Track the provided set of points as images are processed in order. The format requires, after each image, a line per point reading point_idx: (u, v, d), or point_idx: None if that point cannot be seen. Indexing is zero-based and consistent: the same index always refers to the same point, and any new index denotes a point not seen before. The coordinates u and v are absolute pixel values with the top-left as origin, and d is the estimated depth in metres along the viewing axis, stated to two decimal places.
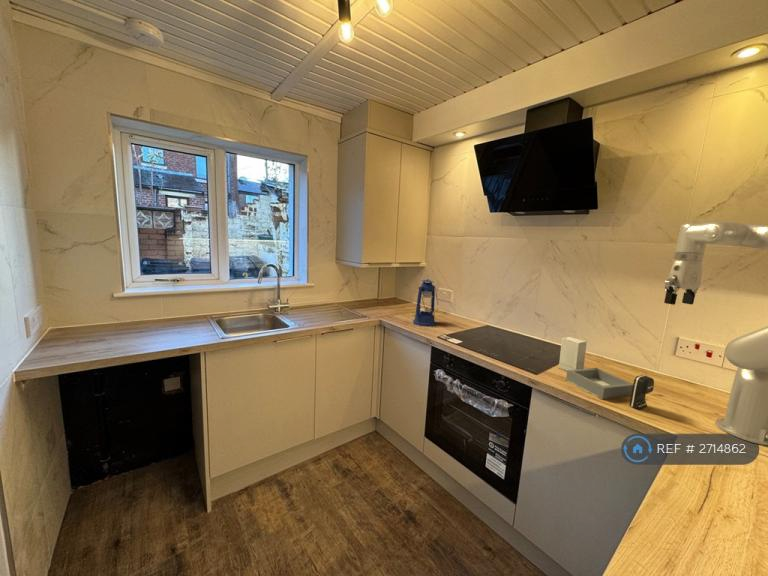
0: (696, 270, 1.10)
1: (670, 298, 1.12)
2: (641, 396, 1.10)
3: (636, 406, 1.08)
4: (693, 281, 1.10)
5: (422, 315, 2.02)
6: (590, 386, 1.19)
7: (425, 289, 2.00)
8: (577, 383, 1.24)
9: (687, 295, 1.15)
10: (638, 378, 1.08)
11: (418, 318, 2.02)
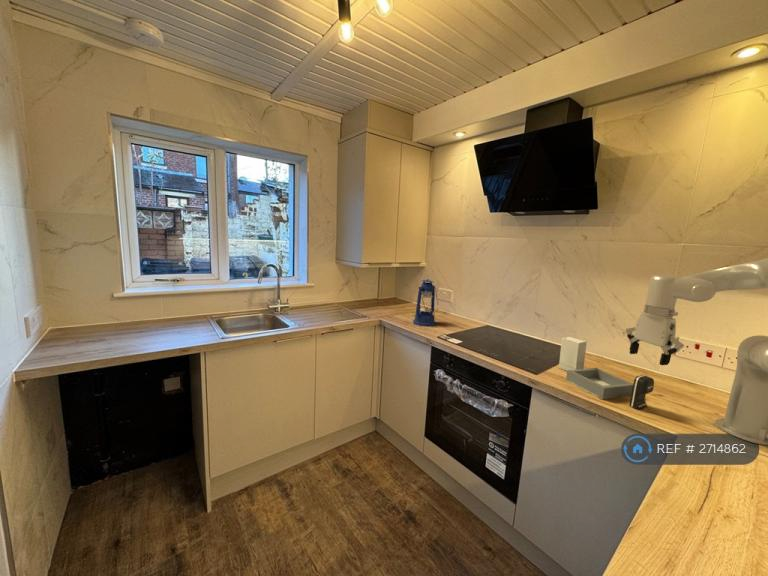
0: None
1: (669, 359, 1.02)
2: (641, 396, 1.10)
3: (636, 406, 1.08)
4: None
5: (422, 315, 2.02)
6: (590, 386, 1.19)
7: (425, 289, 2.00)
8: (577, 383, 1.24)
9: (635, 346, 1.11)
10: (638, 378, 1.08)
11: (418, 318, 2.02)
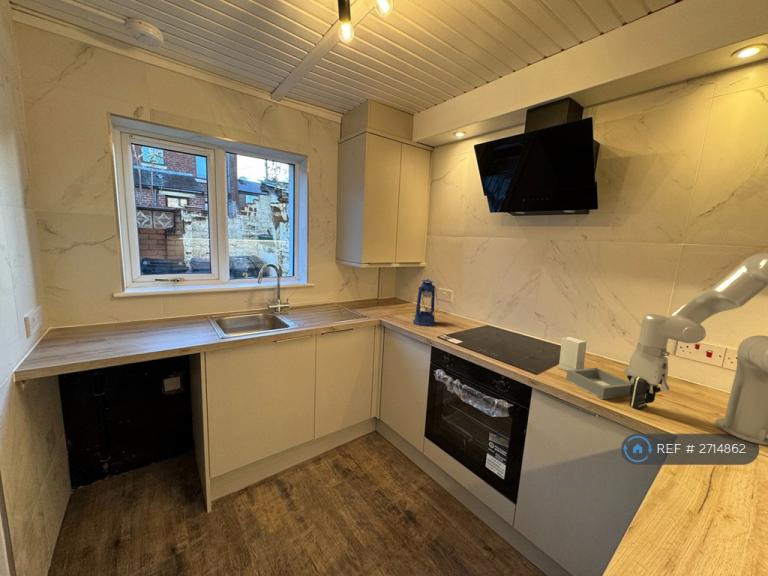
0: None
1: (654, 398, 1.06)
2: (641, 396, 1.10)
3: (636, 406, 1.08)
4: None
5: (422, 315, 2.02)
6: (590, 386, 1.19)
7: (425, 289, 2.00)
8: (577, 383, 1.24)
9: None
10: (638, 378, 1.08)
11: (418, 318, 2.02)
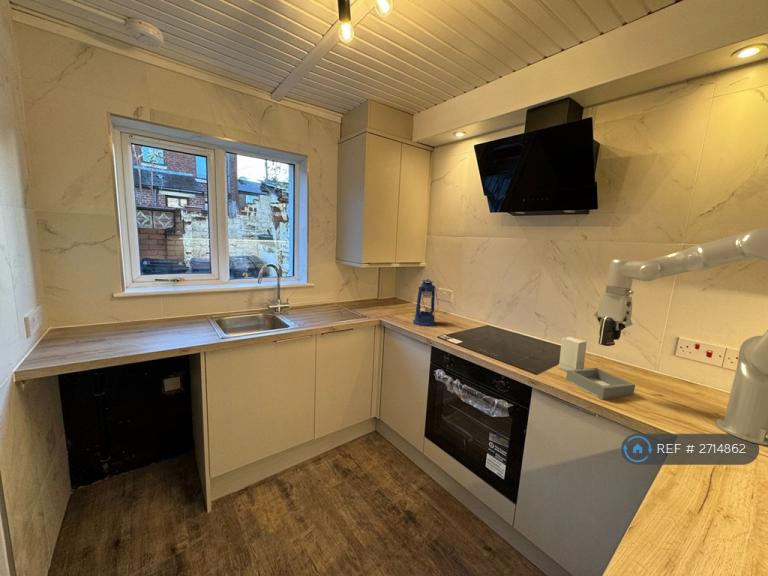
0: None
1: (619, 334, 1.16)
2: (609, 335, 1.20)
3: (604, 343, 1.19)
4: None
5: (422, 315, 2.02)
6: (590, 386, 1.19)
7: (425, 289, 2.00)
8: (577, 383, 1.24)
9: None
10: (606, 317, 1.18)
11: (418, 318, 2.02)
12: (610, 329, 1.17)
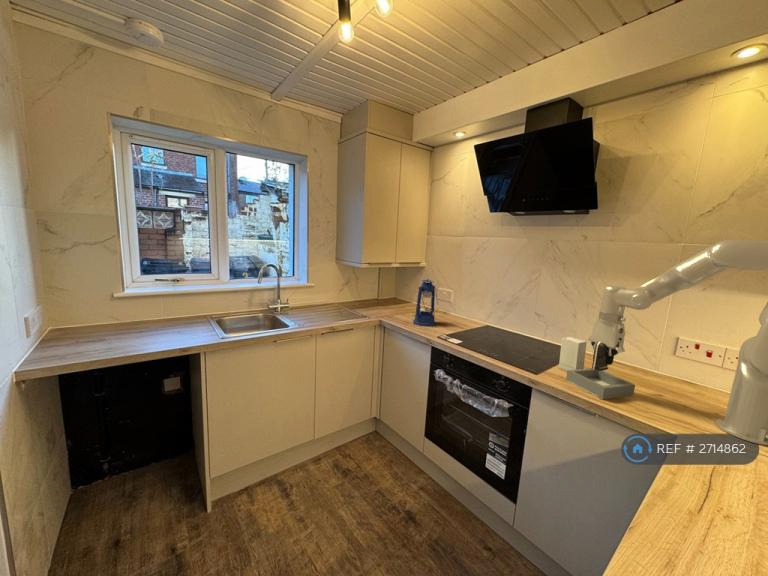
0: None
1: (612, 360, 1.19)
2: (602, 359, 1.22)
3: (597, 368, 1.21)
4: None
5: (422, 315, 2.02)
6: (590, 386, 1.19)
7: (425, 289, 2.00)
8: (577, 383, 1.24)
9: None
10: (599, 343, 1.21)
11: (418, 318, 2.02)
12: (603, 354, 1.19)
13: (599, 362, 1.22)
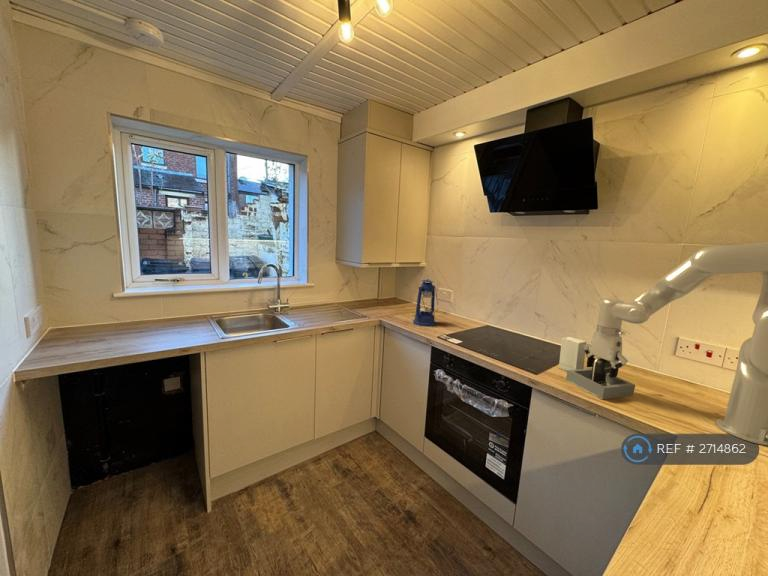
0: None
1: (617, 372, 1.17)
2: (601, 376, 1.23)
3: None
4: None
5: (422, 315, 2.02)
6: (590, 386, 1.19)
7: (425, 289, 2.00)
8: (577, 383, 1.24)
9: (591, 360, 1.26)
10: (596, 360, 1.22)
11: (418, 318, 2.02)
12: (600, 372, 1.20)
13: (597, 379, 1.22)
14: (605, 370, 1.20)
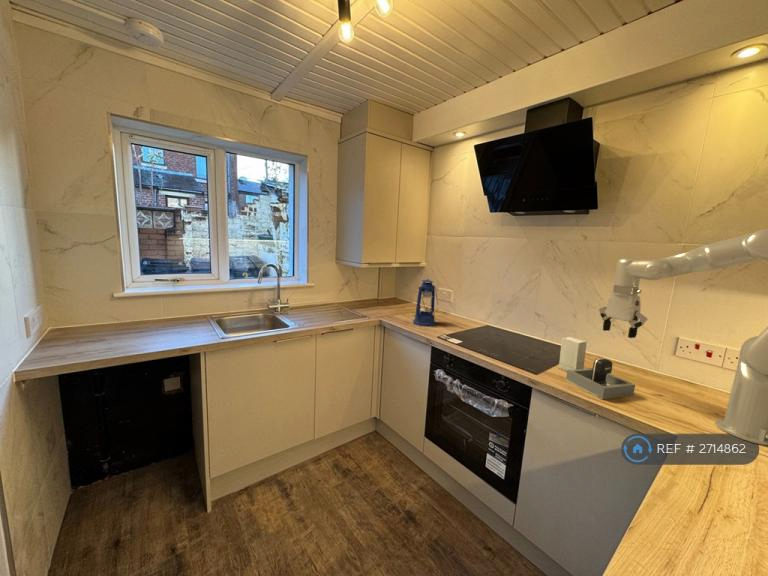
0: None
1: (636, 332, 1.15)
2: (601, 377, 1.23)
3: None
4: None
5: (422, 315, 2.02)
6: (590, 386, 1.19)
7: (425, 289, 2.00)
8: (577, 383, 1.24)
9: (608, 323, 1.24)
10: (597, 360, 1.22)
11: (418, 318, 2.02)
12: (601, 372, 1.20)
13: (597, 379, 1.22)
14: (605, 370, 1.20)
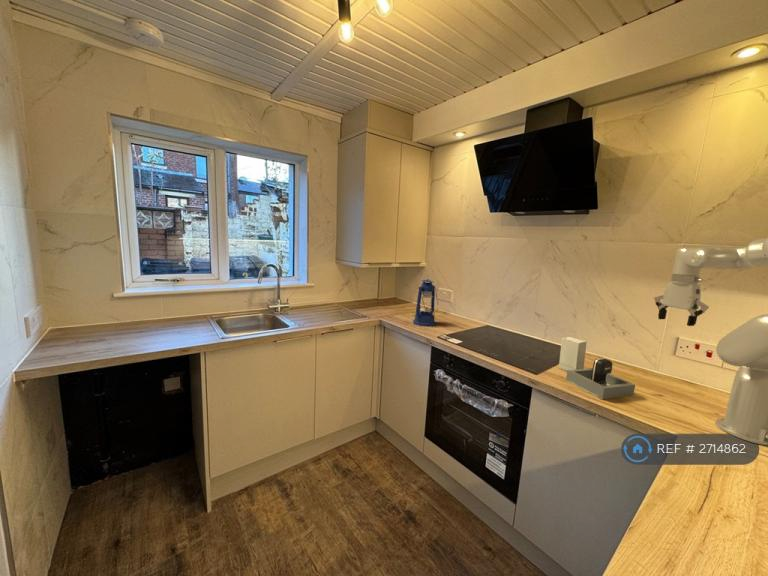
0: None
1: (695, 321, 1.16)
2: (601, 377, 1.23)
3: None
4: None
5: (422, 315, 2.02)
6: (590, 386, 1.19)
7: (425, 289, 2.00)
8: (577, 383, 1.24)
9: (663, 312, 1.25)
10: (597, 360, 1.22)
11: (418, 318, 2.02)
12: (601, 372, 1.20)
13: (597, 379, 1.22)
14: (605, 370, 1.20)
